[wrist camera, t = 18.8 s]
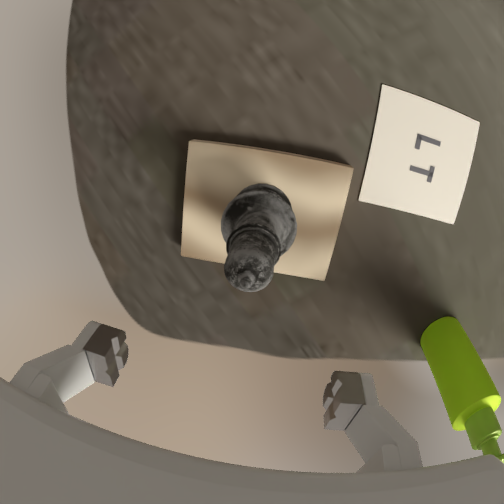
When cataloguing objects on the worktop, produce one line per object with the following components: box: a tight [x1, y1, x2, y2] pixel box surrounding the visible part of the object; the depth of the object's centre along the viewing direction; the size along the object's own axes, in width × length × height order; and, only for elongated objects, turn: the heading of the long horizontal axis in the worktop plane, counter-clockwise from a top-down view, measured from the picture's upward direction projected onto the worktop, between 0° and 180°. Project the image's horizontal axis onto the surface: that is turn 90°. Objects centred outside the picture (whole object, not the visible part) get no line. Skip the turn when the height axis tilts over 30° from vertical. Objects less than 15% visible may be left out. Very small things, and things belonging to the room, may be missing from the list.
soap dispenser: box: [420, 317, 504, 463], centre depth 24 cm, size 6×7×20 cm
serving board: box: [181, 139, 354, 281], centre depth 28 cm, size 11×14×2 cm
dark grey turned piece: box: [221, 183, 297, 292], centre depth 22 cm, size 6×6×12 cm
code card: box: [358, 84, 480, 224], centre depth 24 cm, size 11×11×1 cm
